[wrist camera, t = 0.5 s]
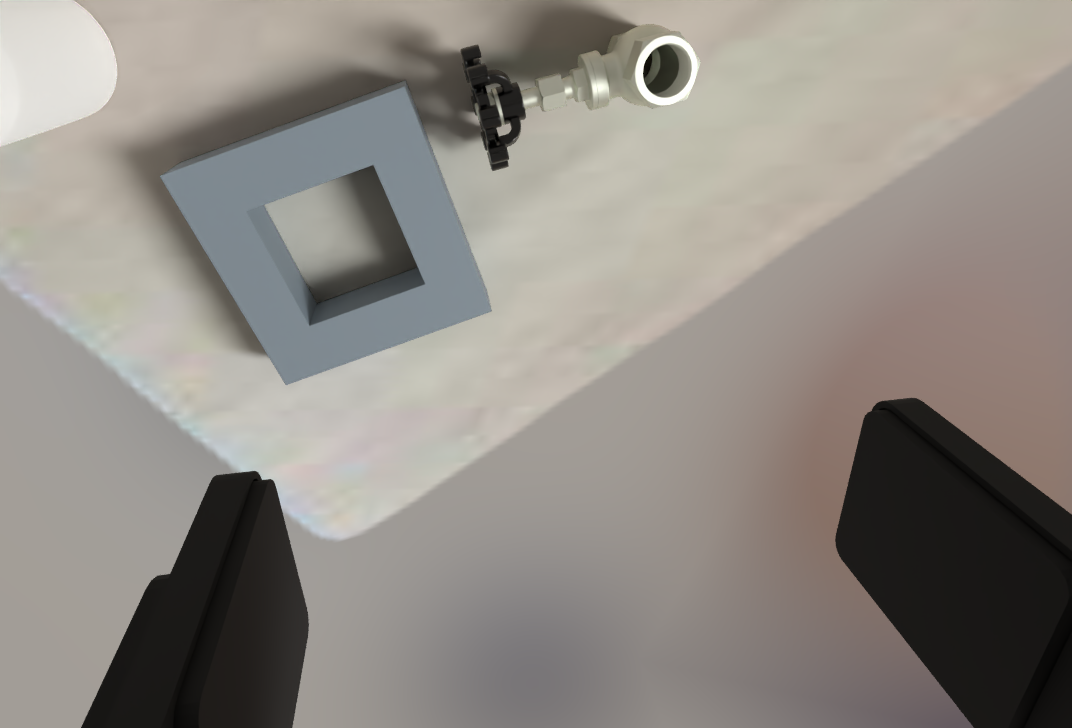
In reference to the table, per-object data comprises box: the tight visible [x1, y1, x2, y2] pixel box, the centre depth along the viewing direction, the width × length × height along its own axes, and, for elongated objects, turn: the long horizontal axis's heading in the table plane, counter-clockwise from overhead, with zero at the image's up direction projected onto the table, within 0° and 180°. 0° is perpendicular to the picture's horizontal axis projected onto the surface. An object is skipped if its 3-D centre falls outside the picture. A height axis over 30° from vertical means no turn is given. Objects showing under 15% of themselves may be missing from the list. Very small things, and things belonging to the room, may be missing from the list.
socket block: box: [160, 80, 492, 385], centre depth 41 cm, size 14×14×4 cm
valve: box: [460, 24, 701, 171], centre depth 37 cm, size 7×7×12 cm
